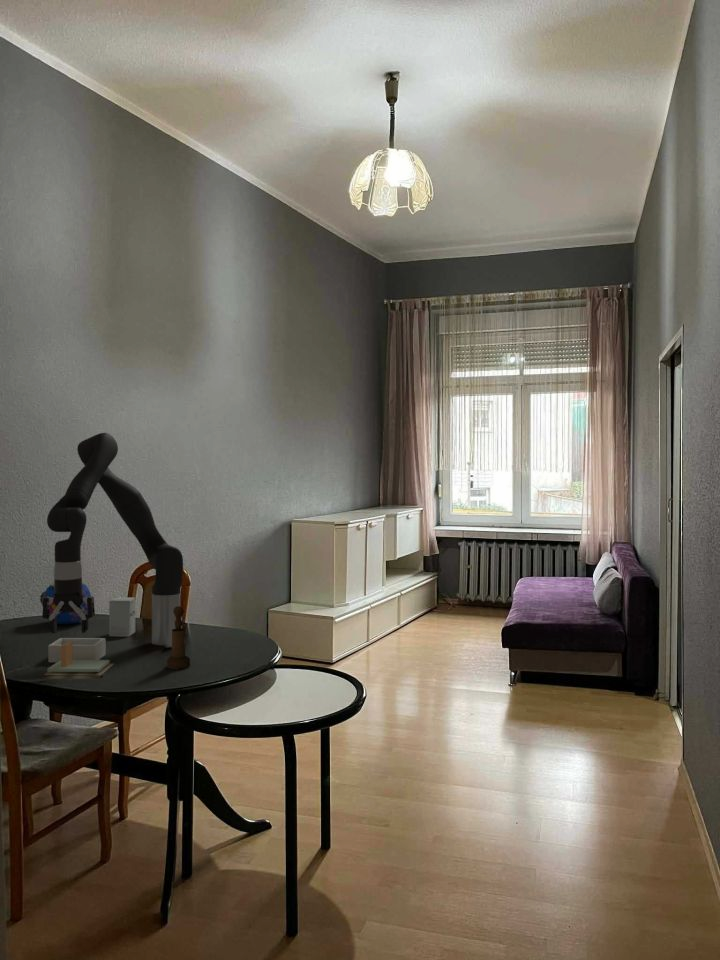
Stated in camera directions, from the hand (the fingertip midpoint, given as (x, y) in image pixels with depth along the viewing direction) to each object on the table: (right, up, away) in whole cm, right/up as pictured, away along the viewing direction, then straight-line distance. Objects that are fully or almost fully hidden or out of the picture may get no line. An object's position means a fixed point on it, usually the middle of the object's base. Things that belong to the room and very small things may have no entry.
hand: (69, 632), depth 235 cm
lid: (+3, -10, 0) cm, 10 cm away
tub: (-2, -11, +13) cm, 18 cm away
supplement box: (0, -11, +51) cm, 53 cm away
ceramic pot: (-26, -10, +70) cm, 75 cm away
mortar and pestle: (+30, -12, +8) cm, 33 cm away
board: (+3, -12, +1) cm, 12 cm away
